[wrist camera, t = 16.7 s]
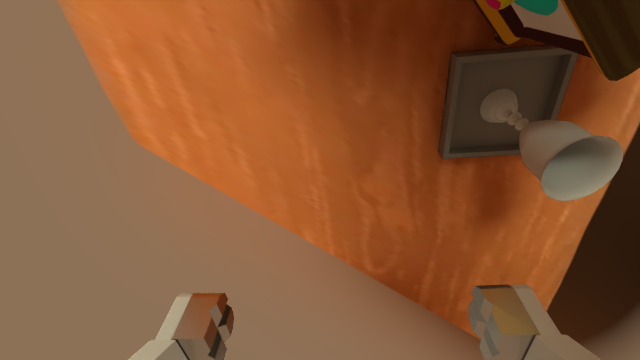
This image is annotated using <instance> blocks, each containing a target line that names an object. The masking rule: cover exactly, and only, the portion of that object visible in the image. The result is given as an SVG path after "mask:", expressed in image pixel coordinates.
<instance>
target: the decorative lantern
mask: <svg viewBox="0 0 640 360" xmlns="http://www.w3.org/2000/svg"><path fill="white" fill-rule="evenodd" d="M473 1H474V2H475V4H476V5H477V7H478V8H479V10H480V11H481V13H482V14H483V16H484V17H485V19H486V20H487V22H488V23H489V25H490V26H491V27H492V29H493V30H494V32H495V35H494V37H495V40H496V41H497V42H499V43H501V44H503V45H510V44H512V43H514V42H516V41H517V40H519V39H520V38H522V37H526V38H529V39H532V40H536V41H539V42H542V43H545V44H549V45H552V46H555V47H558V48H562V49H565V50H568V51H571V52H575V53H578V54H581V55H584V56H588V57H591V58H593V60H594V62H595V64H596V65H597V67H598V69H599V70H600V72H601V73H602V74H603V75H604V76H605V77H606V78H607V79H608V80H612V81H617V80H619V79H621V78H623V77H626V76H628V75H629V74H631V73H632V72H634V71H635V70H637V69H638V68H640V0H473Z"/></svg>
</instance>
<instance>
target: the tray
mask: <svg viewBox="0 0 640 360" xmlns="http://www.w3.org/2000/svg"><path fill="white" fill-rule="evenodd" d="M577 57H578V53H575V52H571V51H568V50H565V49H562V48H558V47H555V46H552V45H541V46H529V47H517V48H506V49H494V50H482V51H470V52H459V53H451V56H450V64H449V72H448V80H447V88H446V95H445V103H444V111H443V119H442V127H441V134H440V142H439V150H438V152H439V153H440V155H441V157H442V158H443V159H450V158H467V157H485V156H502V155H519V154H521V152H520V148H519V136H520V132H521V130H516V129H515V125H509V124H508V122H507V121H506V122H503V123H492V122H487V121H485V120H484V119H483V118H482V117H481V114H480V107H481V104H482V102H483V100H484V99H485V98H486V96H488V95H489V94H490V93H491V92H493V91H495V90H498V89H509V90H511V91H513V92H514V93H515V95H516V97H517V102H518V110H517V112H519V113H521V115H522V118H521V119H523V118H526V119H527V120H528V122H529V123H530V122H534V121H542V120H556V119H557V116H558V114H559V111H560V108H561V105H562V102H563V99H564V96H565V93H566V90H567V87H568V84H569V81H570V78H571V75H572V72H573V69H574V66H575V63H576V60H577Z"/></svg>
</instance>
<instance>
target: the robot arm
mask: <svg viewBox="0 0 640 360" xmlns="http://www.w3.org/2000/svg"><path fill="white" fill-rule="evenodd" d="M472 294H473V296H474V299H473V300H472V301H471V302H470V304H469V309H468V310H469V319H470V323H471V326H472V329H473V332H474V333H475V334H476V335H477V336H478V337H479V338H481V339H482V340H481V344H480V346H479V347H480V350H481V352H482V355H483V357H484V360H601V359H599V358H598V357H596V356H595V355H594V354H592V353H591V352H590V351H588V350H587V349H585V348H584V347H583V346H581V345H580V344H578V343H577V342H576V341H574V340H573V339H572V338H570V337H569V336H567V335H561V334H560V332H559V331H558V329H557V328H556V326H555V324H554V323H553V321H552V320H551V318H550V317H549V315H548V314H547V312H546V310H545V309H544V307H543V306H542V304H541V303H540V301H539V299H538V298H537V296H536V295H535V293H534V292H533V290H532V288H531V287H530V286H528V285H525V284H523V285H486V286H475V287H474V289H473V292H472ZM227 300H228V298H227V296H226V294H225V293H181V294H179V295H178V296H177V297H176V299H175V301H174V303H173V305H172V307H171V309H170V311H169V313H168V315H167V317H166V319H165V321H164V323H163V325H162V327H161V329H160V331H159V333H158V335H157V337H156V339H155V340H150V341H149V342H148V343H147V344H146V345H144V346H143V347H142V348H141V349H140V350H139V351H138V352H136V353H135V354H134V355H133V356H132V357H131V358H129V359H128V360H224V357H225V353H226V350H227V348H226V346H225V344H224V342H225V341H226V340H227V339H228V338H229V337H230V336H231V333H232V329H233V322H234V316H233V311H232V308H231V307H230V306H229V305H227Z"/></svg>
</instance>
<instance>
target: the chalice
mask: <svg viewBox="0 0 640 360" xmlns="http://www.w3.org/2000/svg"><path fill="white" fill-rule="evenodd" d="M517 110H518V102H517V97H516V95H515V93H514V92H513V91H511V90H509V89H498V90H495V91H493V92H491V93H490V94H489V95H488V96H486V98H485V99H484V100H483V102H482V104H481V107H480V114H481V117H482V118H483V119H484V120H485V121H487V122H492V123H503V122H506V121H507V122H508V124H509V125H515V129H516V130H521V132H520V136H519V148H520V152H521V156H522V160H523V163H524V165H525V166H526V167H527V168H528V169H529V170H530V171H531V172H532V173H533V174H534V175H535V176H536V177H537V178H538V179H539V180H540V181H541V185H542V190H543V191H544V192H545V194H546V195H547V196H548V197H550V198H553V199H555V200H562V201H569V200H575V199H579V198H582V197H585V196H587V195H590V194H592V193H593V192H595V191H597V190H598V189H600V188H601V187H603V186H604V185H605V184H606V183H607V182H608V181H609V180H611V179H612V177H613V176H614V175H615V173H616V172H617V171H618V169H619V167H620V164H621V162H622V159H623V151H622V148H621V146H620V144H619V143H618V141H616V140H614V139H612V138H610V137H604V136H595V135H593V134H591V133H590V132H588V131H586V130H585V129H583V128H581V127H580V126H578V125H576V124H574V123H572V122H570V121H559V120H542V121H534V122H530V123H529V122H528V120H527V119H526V118H523V119H521V118H522V115H521V113H519V112H517Z"/></svg>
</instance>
